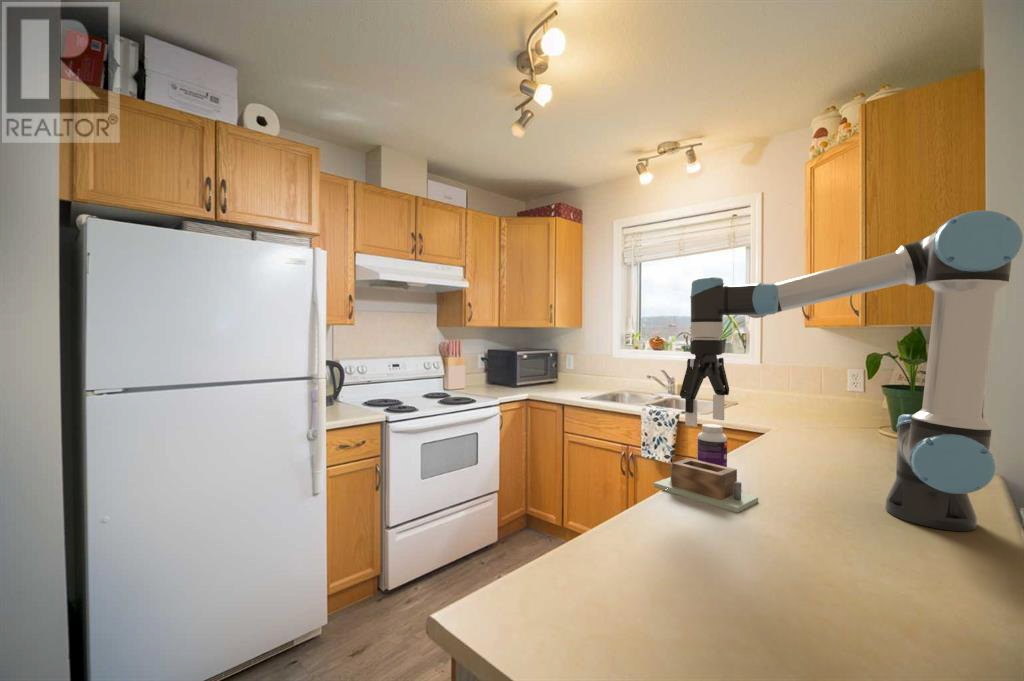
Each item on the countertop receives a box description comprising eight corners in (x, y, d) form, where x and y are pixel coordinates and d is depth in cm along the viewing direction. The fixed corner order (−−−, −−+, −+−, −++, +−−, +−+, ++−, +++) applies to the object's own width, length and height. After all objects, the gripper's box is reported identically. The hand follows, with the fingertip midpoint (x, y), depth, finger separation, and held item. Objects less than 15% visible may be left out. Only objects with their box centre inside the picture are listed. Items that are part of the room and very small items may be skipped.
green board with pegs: (758, 502, 112) (758, 480, 112) (737, 512, 105) (737, 490, 105) (676, 479, 129) (676, 460, 129) (653, 487, 122) (654, 467, 122)
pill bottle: (730, 480, 129) (731, 429, 128) (699, 478, 130) (700, 427, 130) (722, 471, 137) (723, 423, 136) (694, 469, 138) (695, 422, 138)
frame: (736, 493, 115) (736, 469, 114) (720, 500, 109) (721, 475, 109) (688, 480, 125) (688, 458, 125) (671, 486, 120) (672, 463, 119)
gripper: (716, 339, 127) (715, 415, 127) (665, 339, 112) (664, 426, 112) (743, 339, 121) (742, 419, 122) (694, 339, 106) (693, 431, 106)
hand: (705, 422), depth 117 cm, fingers open, 13 cm apart
